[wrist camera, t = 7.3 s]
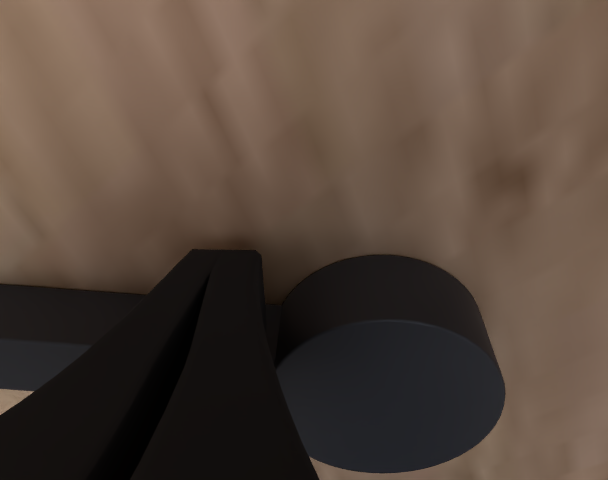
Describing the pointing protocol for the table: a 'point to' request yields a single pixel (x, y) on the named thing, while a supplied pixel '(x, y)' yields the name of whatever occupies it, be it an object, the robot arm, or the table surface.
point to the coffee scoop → (320, 358)
